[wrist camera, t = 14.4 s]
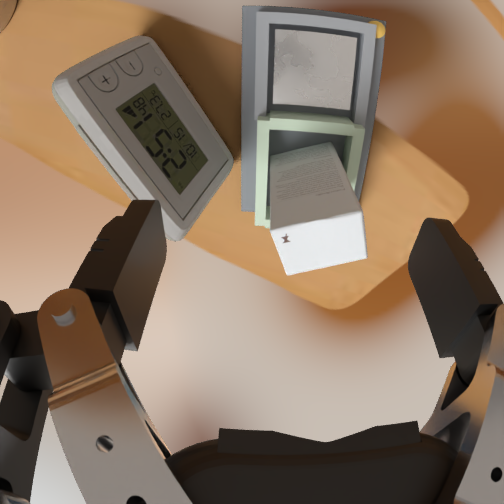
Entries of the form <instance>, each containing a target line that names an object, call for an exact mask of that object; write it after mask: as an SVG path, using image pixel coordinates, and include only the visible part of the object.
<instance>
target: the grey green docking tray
mask: <svg viewBox="0 0 504 504" xmlns="http://www.w3.org/2000/svg"><path fill="white" fill-rule="evenodd" d="M275 29H282V30H297V31H308V32H318V33H327V34H335V35H342V36H348V37H355V38H357V46H356V57H355V67H354V77H353V86H352V95H351V103H350V110H344V109H335V108H326V107H315V106H304V105H290V104H273V82H274V54H275ZM385 30H386V21H382V20H377V19H373V18H368V17H363V16H357V15H351V14H345V13H339V12H331V11H324V10H315V9H305V8H293V7H276V6H242V109H241V211H248V212H255V225H257V226H265V228H270V156H272V155H276V154H280V153H284V152H288V151H292V150H296V149H300V148H304V147H308V146H313V145H317V144H321V143H326V142H332V144H333V146H334V148H335V150H336V152H337V154H338V157H339V159H340V161H341V163H342V165H343V168H344V170H345V172H346V174H347V176H348V179H349V181H350V183H351V186H352V188H353V190H354V192H355V195H356V197H357V199H358V201H359V199H360V194H361V189H362V185H363V180H364V175H365V170H366V164H367V159H368V154H369V148H370V143H371V137H372V131H373V125H374V119H375V112H376V106H377V99H378V92H379V84H380V76H381V68H382V59H383V50H384V41H385V40H384V39H385Z"/></svg>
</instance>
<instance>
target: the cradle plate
mask: <svg viewBox="0 0 504 504" xmlns="http://www.w3.org/2000/svg"><path fill="white" fill-rule="evenodd" d="M356 46H357V38H355V37H348V36H342V35H335V34H327V33H318V32H308V31H297V30H282V29H275V54H274V82H273V104H290V105H304V106H315V107H326V108H335V109H344V110H350V103H351V95H352V86H353V77H354V67H355V57H356Z"/></svg>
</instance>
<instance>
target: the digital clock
mask: <svg viewBox="0 0 504 504" xmlns="http://www.w3.org/2000/svg"><path fill="white" fill-rule="evenodd" d="M52 93H53V95H54V98H55V100H56V101H57V103H58V104H59V106H60V107H61V109H62V110H63V112H64V113H65V114H66V116H67V117H68V119H69V120H70V121H71V123H72V124H73V126H74V127H75V128H76V131H77V132H78V133H79V134H80V136H81V137H82V138H83V140H84V141H85V142H86V144H87V145H88V146H89V148H90V149H91V150H92V151H93V153H94V154H95V155H96V157H97V158H98V159H99V160H100V162H101V163H102V164H103V166H104V167H105V168H106V169H107V171H108V172H109V173H110V174H111V176H112V177H113V178H114V179H115V181H116V182H117V183H118V184H119V186H120V187H121V188H122V189H123V191H124V192H125V193H126V194H127V196H128V197H129V198H130V199H131V200H132V201H133V200H158V201H159V202H160V205H161V211H162V218H163V224H164V231H165V237H166V238H167V239H168V240H172V241H180V240H182V239H183V238H184V237H185V235H186V234H187V233H188V231H189V230H190V229H191V227H192V226H193V224H194V223H195V221H196V220H197V219H198V217H199V216H200V214H201V213H202V211H203V210H204V208H205V207H206V206H207V204H208V203H209V201H210V200H211V198H212V197H213V196H214V194H215V193H216V191H217V190H218V189H219V187H220V186H221V184H222V183H223V182H224V180H225V179H226V177H227V176H228V175H229V173H230V171H231V169H232V166H233V163H234V160H233V157H232V155H231V153H230V151H229V150H228V148H227V147H226V145H225V144H224V142H223V140H222V139H221V137H220V136H219V134H218V133H217V131H216V130H215V128H214V127H213V125H212V124H211V122H210V121H209V119H208V118H207V116H206V115H205V113H204V112H203V110H202V109H201V107H200V106H199V104H198V103H197V101H196V100H195V98H194V97H193V95H192V94H191V92H190V91H189V90H188V88H187V87H186V85H185V84H184V82H183V81H182V79H181V78H180V76H179V75H178V74H177V72H176V71H175V69H174V68H173V66H172V65H171V63H170V62H169V61H168V59H167V58H166V56H165V55H164V53H163V52H162V51H161V49H160V48H159V47H158V45H157V44H156V43H155V41H154V40H153V39H152V38H150V37H147V36H135V37H132V38H130V39H128V40H125V41H123V42H121V43H119V44H116V45H114V46H112V47H110V48H108V49H106V50H104V51H101V52H99V53H97V54H95V55H93V56H91V57H89V58H87V59H86V60H84V61H82V62H80V63H78V64H76V65H74V66H72V67H71V68H69V69H67V70H66V71H64V72H62V73H61V74H60V75H58V76H57V77H56V78H55V80H54V82H53V84H52Z"/></svg>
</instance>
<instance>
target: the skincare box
mask: <svg viewBox="0 0 504 504" xmlns="http://www.w3.org/2000/svg"><path fill="white" fill-rule="evenodd" d="M270 233H271V235H272V238H273V240H274V243H275V245H276V248H277V251H278V253H279V256H280V259H281V261H282V264H283V267H284V269H285V272H286V274H287V275H293V274H297V273H301V272H306V271H311V270H315V269H320V268H325V267H329V266H334V265H338V264H343V263H347V262H352V261H356V260H361V259H366V258H367V257H368V256H367V244H366V233H365V224H364V216H363V210H362V208H361V206H360V204H359V201H358V199H357V197H356V195H355V192H354V190H353V188H352V186H351V183H350V181H349V179H348V176H347V174H346V172H345V170H344V168H343V165H342V163H341V161H340V159H339V157H338V154H337V152H336V150H335V148H334V146H333V144H332V142H326V143H321V144H317V145H313V146H308V147H304V148H300V149H296V150H292V151H288V152H284V153H280V154H276V155H272V156H270Z"/></svg>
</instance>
